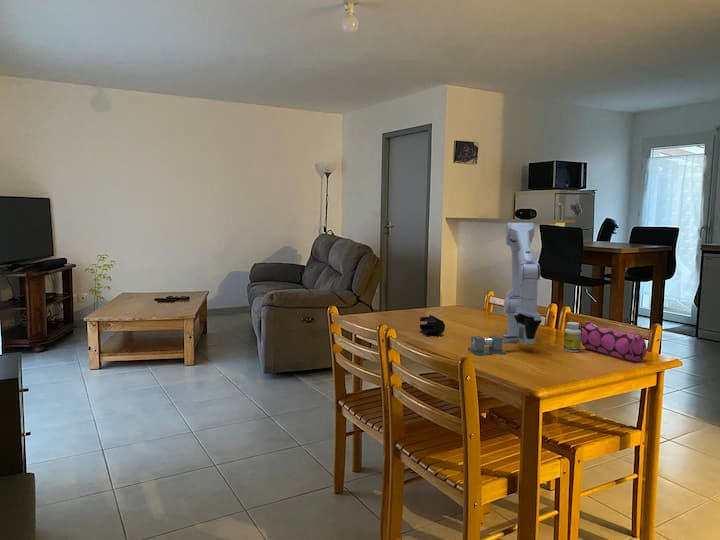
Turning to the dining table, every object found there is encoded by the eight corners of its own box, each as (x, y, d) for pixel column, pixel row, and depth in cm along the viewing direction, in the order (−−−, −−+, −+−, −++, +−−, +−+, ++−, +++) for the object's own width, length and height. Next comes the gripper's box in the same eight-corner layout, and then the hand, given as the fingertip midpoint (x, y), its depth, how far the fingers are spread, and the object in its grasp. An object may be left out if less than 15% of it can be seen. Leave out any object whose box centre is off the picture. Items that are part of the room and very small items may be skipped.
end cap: (445, 336, 210) (445, 319, 209) (427, 337, 209) (427, 319, 208) (436, 331, 220) (436, 314, 219) (419, 331, 218) (419, 315, 218)
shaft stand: (511, 347, 193) (512, 333, 192) (522, 353, 185) (522, 338, 184) (468, 349, 190) (468, 334, 189) (477, 355, 182) (477, 340, 181)
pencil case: (575, 349, 191) (576, 321, 190) (593, 346, 196) (595, 319, 195) (631, 364, 173) (633, 333, 172) (650, 360, 177) (652, 330, 176)
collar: (528, 340, 192) (528, 322, 191) (535, 343, 187) (535, 325, 186) (517, 340, 191) (518, 322, 190) (524, 343, 186) (525, 325, 185)
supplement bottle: (560, 349, 191) (561, 321, 190) (572, 348, 193) (574, 320, 192) (571, 353, 186) (572, 325, 185) (583, 351, 188) (585, 323, 187)
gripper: (508, 295, 194) (506, 332, 195) (527, 301, 180) (526, 342, 181) (526, 295, 195) (524, 332, 196) (547, 301, 181) (545, 341, 182)
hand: (526, 337), depth 189 cm, fingers closed on collar, 5 cm apart
